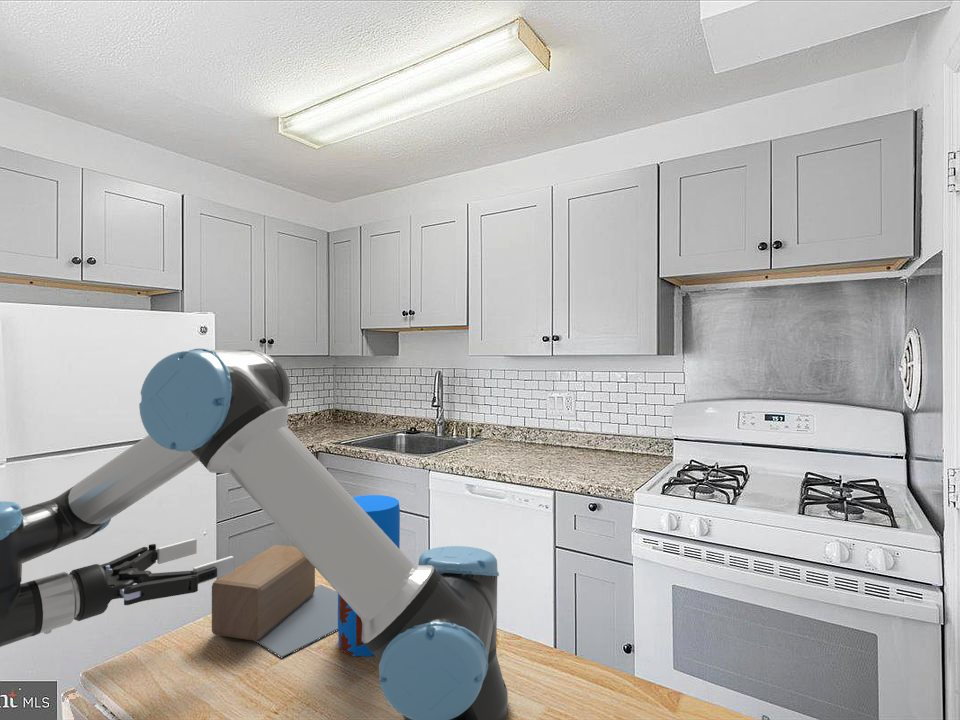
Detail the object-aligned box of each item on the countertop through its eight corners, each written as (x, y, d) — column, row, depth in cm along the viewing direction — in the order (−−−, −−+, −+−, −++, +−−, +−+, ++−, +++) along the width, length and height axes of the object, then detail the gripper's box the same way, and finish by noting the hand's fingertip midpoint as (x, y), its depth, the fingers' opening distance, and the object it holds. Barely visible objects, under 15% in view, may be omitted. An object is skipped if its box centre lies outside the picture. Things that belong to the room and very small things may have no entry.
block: (258, 587, 94) (317, 547, 114) (209, 581, 96) (275, 542, 116) (258, 643, 94) (316, 593, 114) (209, 636, 97) (275, 588, 116)
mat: (376, 611, 107) (376, 609, 107) (281, 658, 91) (281, 656, 91) (320, 586, 118) (320, 584, 118) (227, 624, 102) (227, 622, 102)
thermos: (381, 619, 104) (382, 491, 104) (410, 643, 96) (411, 504, 96) (327, 637, 98) (328, 501, 97) (353, 664, 89) (355, 515, 89)
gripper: (46, 597, 88) (181, 558, 105) (102, 650, 73) (250, 594, 90) (46, 551, 88) (181, 520, 105) (102, 595, 73) (250, 550, 89)
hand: (213, 554), depth 97 cm, fingers open, 13 cm apart
